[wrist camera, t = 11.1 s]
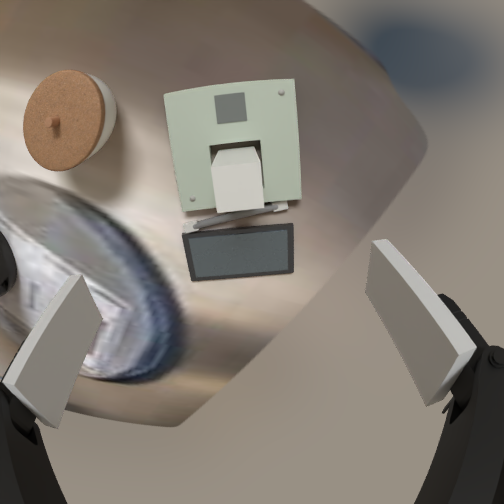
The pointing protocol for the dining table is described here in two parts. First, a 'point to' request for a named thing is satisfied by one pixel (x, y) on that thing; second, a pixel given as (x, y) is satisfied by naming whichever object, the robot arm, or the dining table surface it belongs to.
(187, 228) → the grey pen
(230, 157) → the block
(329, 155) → the dining table surface
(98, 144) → the lidded jar
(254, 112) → the outlet plate
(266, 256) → the phone
